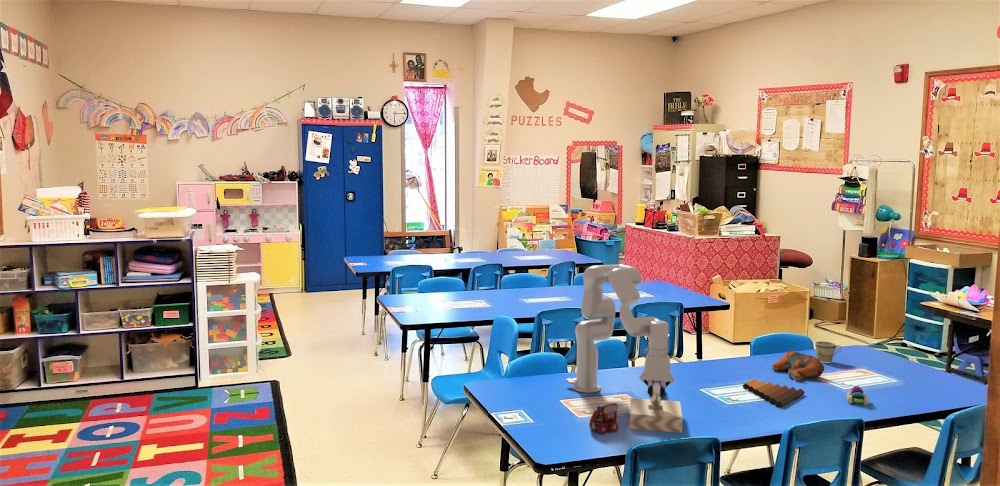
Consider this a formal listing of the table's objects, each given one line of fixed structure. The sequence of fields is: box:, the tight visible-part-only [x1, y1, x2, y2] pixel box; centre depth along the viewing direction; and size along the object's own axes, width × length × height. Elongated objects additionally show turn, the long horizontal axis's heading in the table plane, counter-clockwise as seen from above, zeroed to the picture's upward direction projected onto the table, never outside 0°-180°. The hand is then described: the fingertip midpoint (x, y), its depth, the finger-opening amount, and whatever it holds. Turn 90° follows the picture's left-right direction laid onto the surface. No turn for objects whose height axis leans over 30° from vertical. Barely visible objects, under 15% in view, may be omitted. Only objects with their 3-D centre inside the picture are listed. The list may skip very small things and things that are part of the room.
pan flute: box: [742, 378, 805, 409], centre depth 346 cm, size 25×3×25 cm
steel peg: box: [650, 381, 663, 406], centre depth 308 cm, size 4×4×10 cm
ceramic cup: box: [814, 340, 842, 363], centre depth 404 cm, size 13×10×10 cm
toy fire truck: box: [588, 402, 619, 435], centre depth 299 cm, size 7×12×10 cm, turn 117°
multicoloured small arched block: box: [845, 385, 870, 406], centre depth 337 cm, size 8×10×7 cm
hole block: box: [629, 397, 683, 433], centre depth 309 cm, size 20×20×6 cm
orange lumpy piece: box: [771, 350, 825, 382], centre depth 381 cm, size 25×13×17 cm
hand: (656, 396), depth 308 cm, fingers closed on steel peg, 4 cm apart
